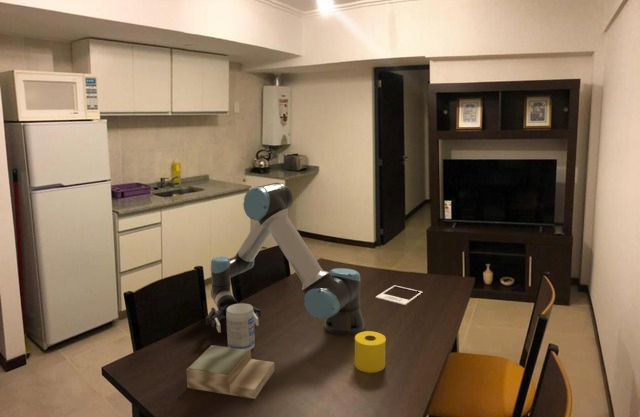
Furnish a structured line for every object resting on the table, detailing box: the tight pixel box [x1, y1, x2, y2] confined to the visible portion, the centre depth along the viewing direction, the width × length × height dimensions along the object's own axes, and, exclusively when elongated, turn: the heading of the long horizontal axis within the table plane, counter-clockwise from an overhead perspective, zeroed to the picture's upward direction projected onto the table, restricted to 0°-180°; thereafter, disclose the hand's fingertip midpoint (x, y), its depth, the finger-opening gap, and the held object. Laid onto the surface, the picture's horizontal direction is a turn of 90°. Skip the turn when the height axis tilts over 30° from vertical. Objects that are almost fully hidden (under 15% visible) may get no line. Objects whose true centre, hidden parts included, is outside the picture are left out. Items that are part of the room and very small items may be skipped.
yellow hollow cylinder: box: [354, 330, 387, 373], centre depth 157 cm, size 10×10×9 cm
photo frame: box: [375, 285, 423, 306], centre depth 218 cm, size 15×1×18 cm
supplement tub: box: [225, 302, 256, 351], centre depth 169 cm, size 10×10×15 cm
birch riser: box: [185, 344, 275, 400], centre depth 149 cm, size 22×16×6 cm
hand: (238, 325), depth 169 cm, fingers open, 13 cm apart
